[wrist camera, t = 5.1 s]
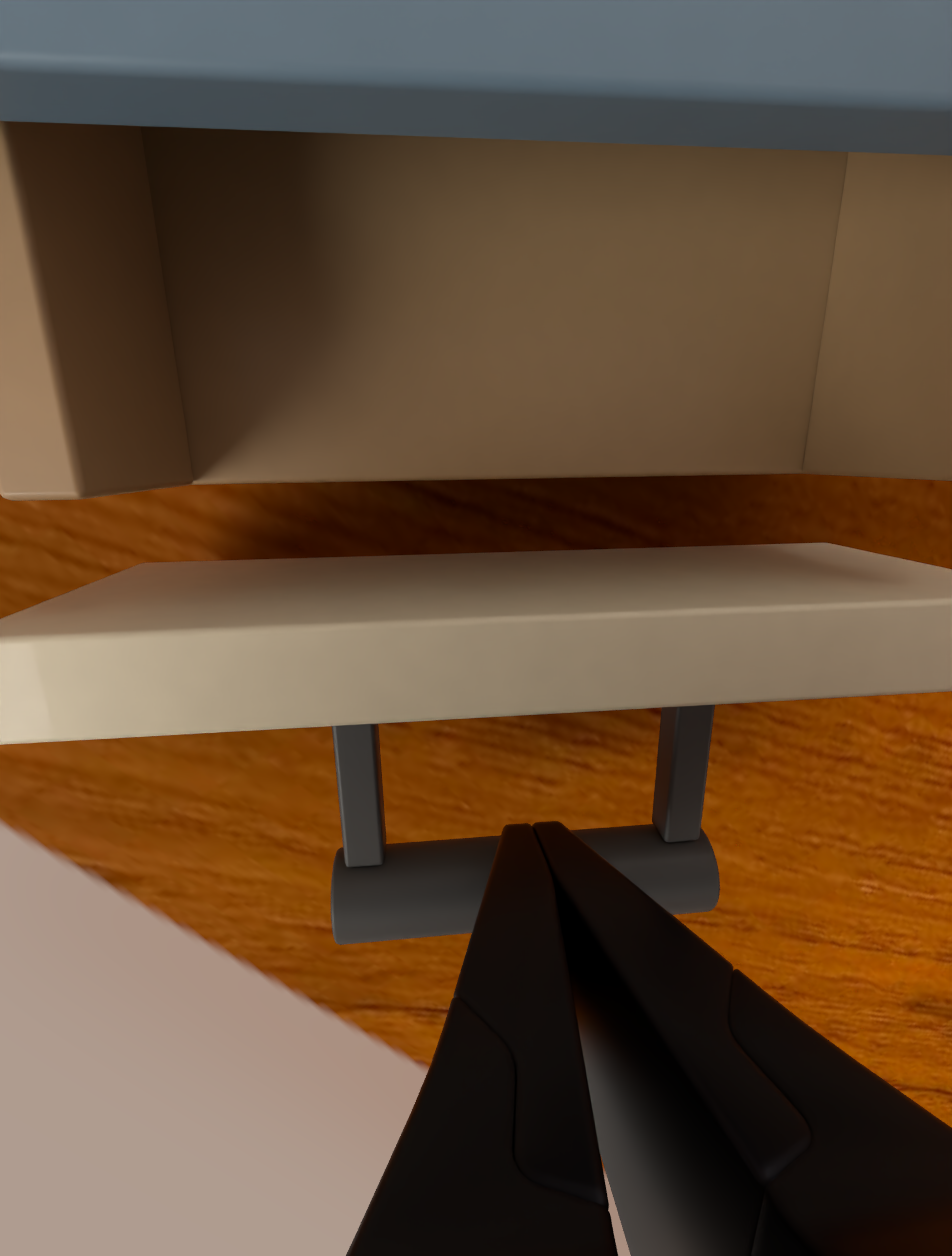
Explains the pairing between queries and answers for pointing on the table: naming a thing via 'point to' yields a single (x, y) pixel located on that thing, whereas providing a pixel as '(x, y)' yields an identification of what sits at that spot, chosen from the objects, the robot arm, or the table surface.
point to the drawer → (467, 442)
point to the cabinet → (495, 69)
